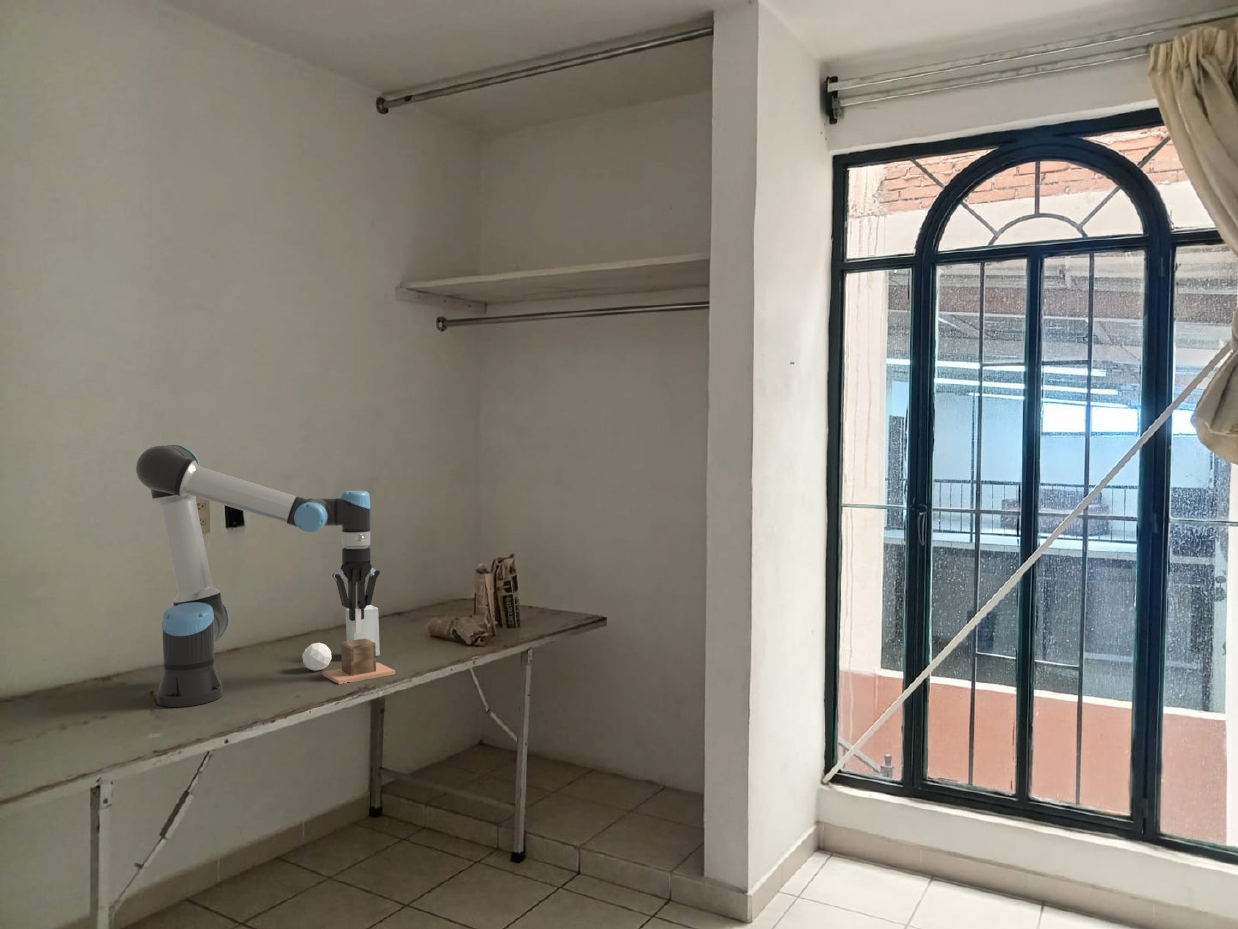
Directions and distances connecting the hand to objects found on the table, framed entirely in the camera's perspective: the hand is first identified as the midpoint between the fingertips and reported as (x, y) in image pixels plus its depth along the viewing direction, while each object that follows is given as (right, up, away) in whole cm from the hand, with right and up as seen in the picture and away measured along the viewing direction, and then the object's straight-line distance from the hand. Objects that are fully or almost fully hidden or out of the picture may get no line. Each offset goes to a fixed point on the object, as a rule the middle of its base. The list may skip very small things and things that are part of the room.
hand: (356, 631), depth 250 cm
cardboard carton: (0, -11, +1) cm, 11 cm away
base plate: (+1, -12, +1) cm, 12 cm away
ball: (-13, -12, +6) cm, 19 cm away
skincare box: (-4, -12, +21) cm, 24 cm away
